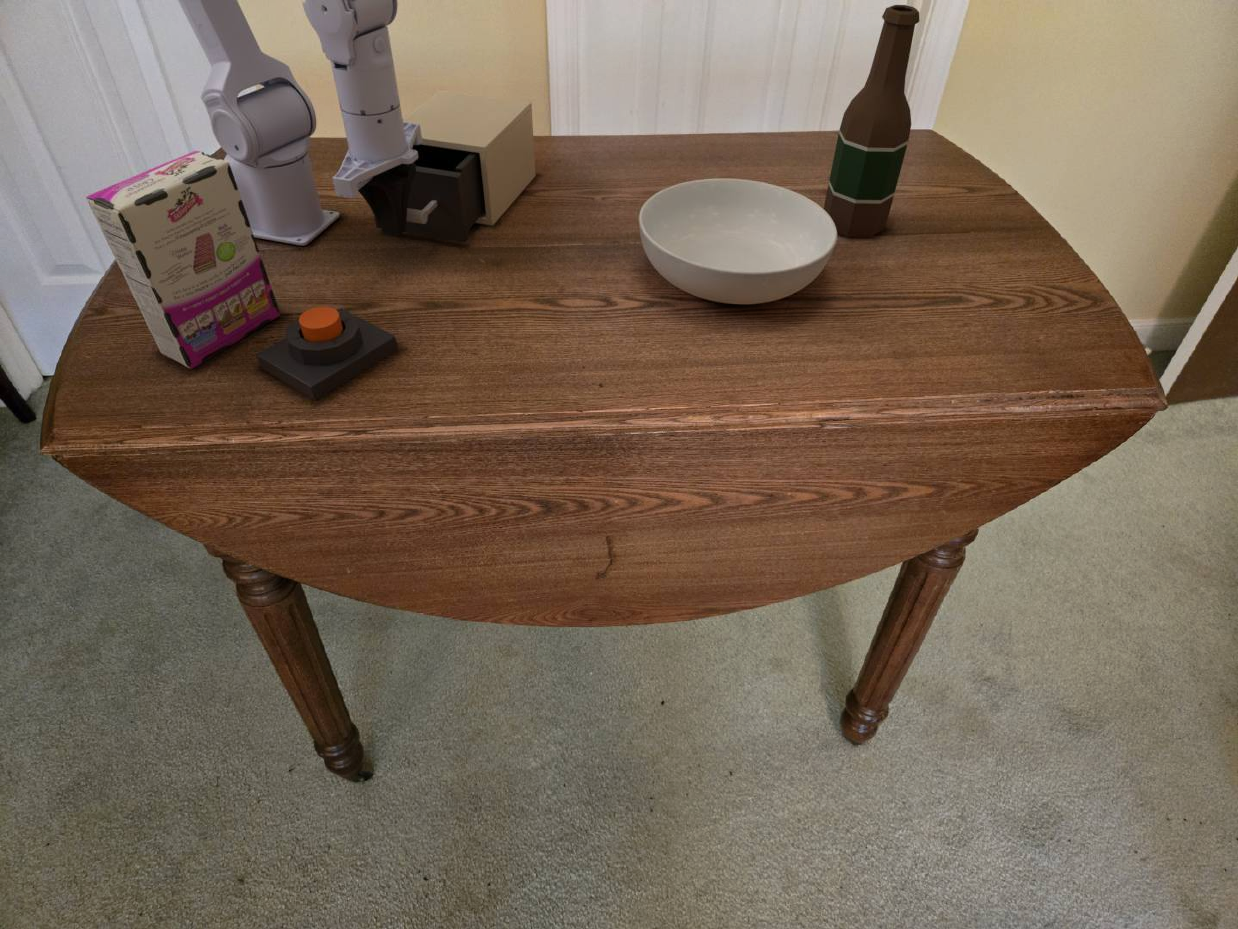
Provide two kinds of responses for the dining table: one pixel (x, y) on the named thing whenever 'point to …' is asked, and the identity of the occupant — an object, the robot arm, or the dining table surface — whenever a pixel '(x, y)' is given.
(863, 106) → the beer bottle
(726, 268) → the serving bowl
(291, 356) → the control block
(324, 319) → the button
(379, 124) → the robot arm
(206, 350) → the candy bar box
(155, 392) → the dining table surface
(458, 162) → the drawer
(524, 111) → the cabinet
